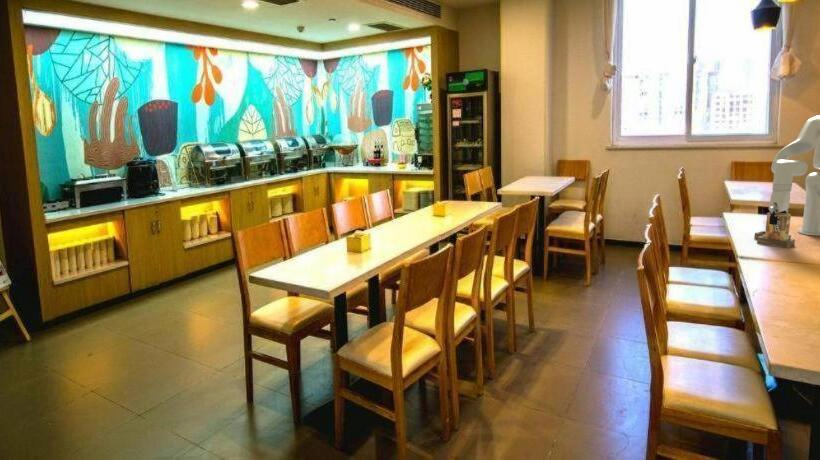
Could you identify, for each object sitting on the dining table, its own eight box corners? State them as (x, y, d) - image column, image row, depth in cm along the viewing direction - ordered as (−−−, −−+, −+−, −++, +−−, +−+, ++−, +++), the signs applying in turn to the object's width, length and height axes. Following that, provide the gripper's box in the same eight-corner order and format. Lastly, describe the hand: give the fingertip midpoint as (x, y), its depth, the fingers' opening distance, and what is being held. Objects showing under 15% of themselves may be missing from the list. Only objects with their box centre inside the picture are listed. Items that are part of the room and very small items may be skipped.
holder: (762, 236, 282) (762, 230, 282) (801, 243, 268) (802, 237, 267) (746, 241, 274) (746, 235, 273) (786, 248, 259) (787, 242, 258)
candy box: (787, 245, 264) (791, 213, 261) (783, 246, 262) (787, 215, 259) (767, 242, 271) (771, 211, 268) (763, 243, 269) (767, 212, 266)
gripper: (781, 185, 268) (777, 219, 272) (764, 188, 259) (760, 224, 263) (799, 186, 262) (794, 221, 266) (782, 190, 253) (777, 226, 257)
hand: (777, 223), depth 264 cm, fingers open, 9 cm apart
